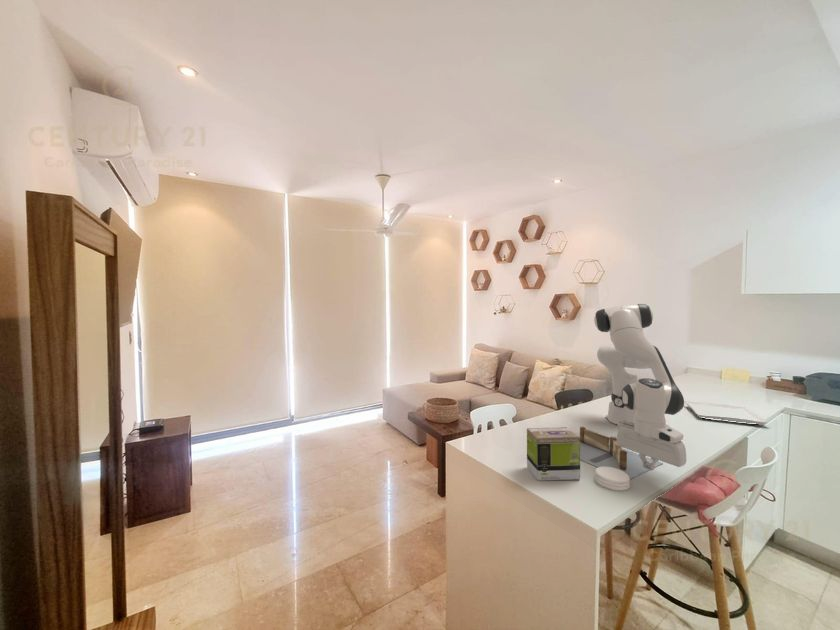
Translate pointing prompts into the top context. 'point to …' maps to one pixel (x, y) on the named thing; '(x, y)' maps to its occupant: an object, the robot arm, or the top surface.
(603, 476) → the coaster
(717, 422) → the top surface
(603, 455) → the card
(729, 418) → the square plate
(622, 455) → the panel
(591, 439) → the fence fixed panel
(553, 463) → the tea box
